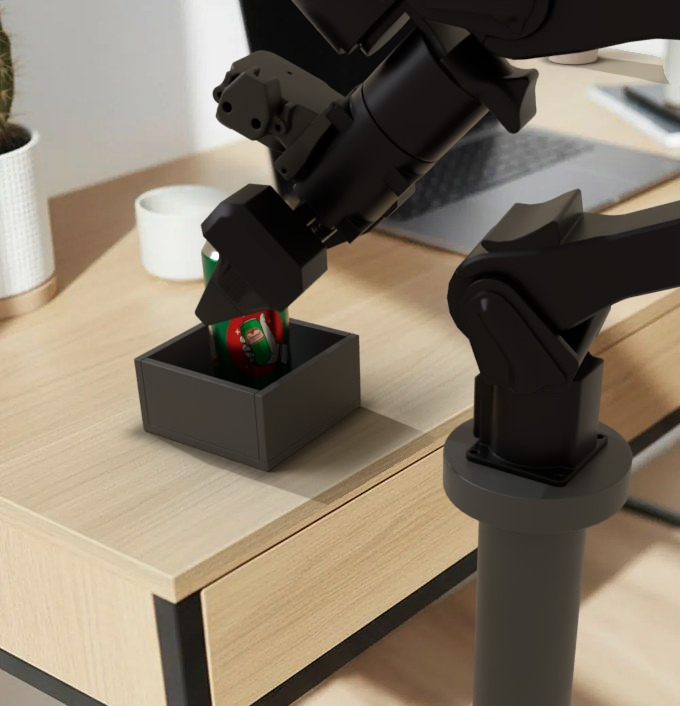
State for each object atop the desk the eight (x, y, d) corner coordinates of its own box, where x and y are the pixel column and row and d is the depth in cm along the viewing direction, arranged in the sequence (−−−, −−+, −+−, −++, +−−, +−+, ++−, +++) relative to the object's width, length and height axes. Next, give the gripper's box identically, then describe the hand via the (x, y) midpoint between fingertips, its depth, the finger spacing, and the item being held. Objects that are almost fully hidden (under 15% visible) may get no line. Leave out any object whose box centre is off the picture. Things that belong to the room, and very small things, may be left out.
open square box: (361, 405, 80) (359, 334, 77) (267, 472, 73) (262, 396, 70) (241, 371, 85) (235, 303, 82) (143, 430, 78) (133, 358, 75)
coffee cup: (622, 57, 165) (633, -63, 157) (579, 70, 159) (588, -54, 151) (566, 48, 171) (574, -68, 163) (523, 60, 165) (529, -60, 157)
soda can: (236, 387, 81) (221, 214, 75) (306, 397, 80) (296, 221, 73) (204, 421, 77) (184, 242, 71) (276, 432, 76) (263, 249, 69)
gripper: (364, -25, 71) (215, 150, 80) (218, 39, 56) (58, 242, 66) (489, 120, 72) (328, 274, 82) (379, 218, 58) (199, 391, 67)
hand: (236, 290), depth 74 cm, fingers open, 9 cm apart
